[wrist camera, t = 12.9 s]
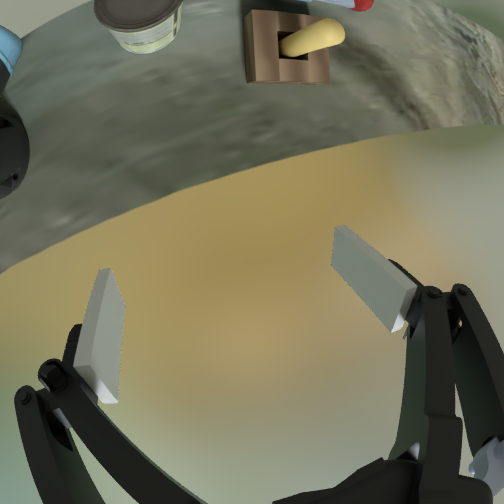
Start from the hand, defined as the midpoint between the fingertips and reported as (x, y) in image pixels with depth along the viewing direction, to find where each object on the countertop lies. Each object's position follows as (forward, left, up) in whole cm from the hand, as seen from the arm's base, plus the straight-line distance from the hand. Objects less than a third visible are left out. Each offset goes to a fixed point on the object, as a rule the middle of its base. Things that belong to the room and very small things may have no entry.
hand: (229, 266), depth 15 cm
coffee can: (-5, +24, -32) cm, 40 cm away
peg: (+16, +18, -32) cm, 40 cm away
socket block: (+16, +18, -32) cm, 40 cm away
